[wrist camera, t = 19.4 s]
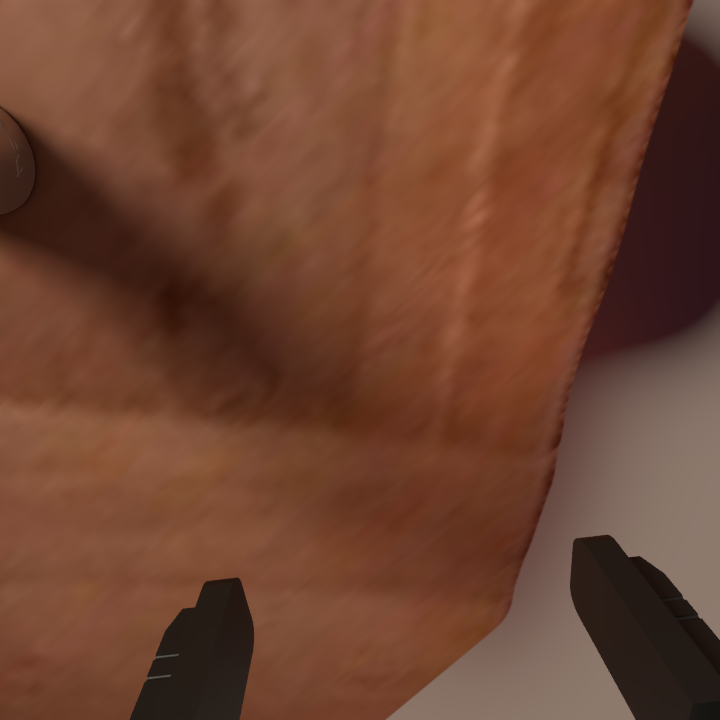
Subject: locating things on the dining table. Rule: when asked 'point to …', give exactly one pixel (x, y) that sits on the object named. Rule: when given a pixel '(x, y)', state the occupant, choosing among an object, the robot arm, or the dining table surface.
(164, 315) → the dining table surface
